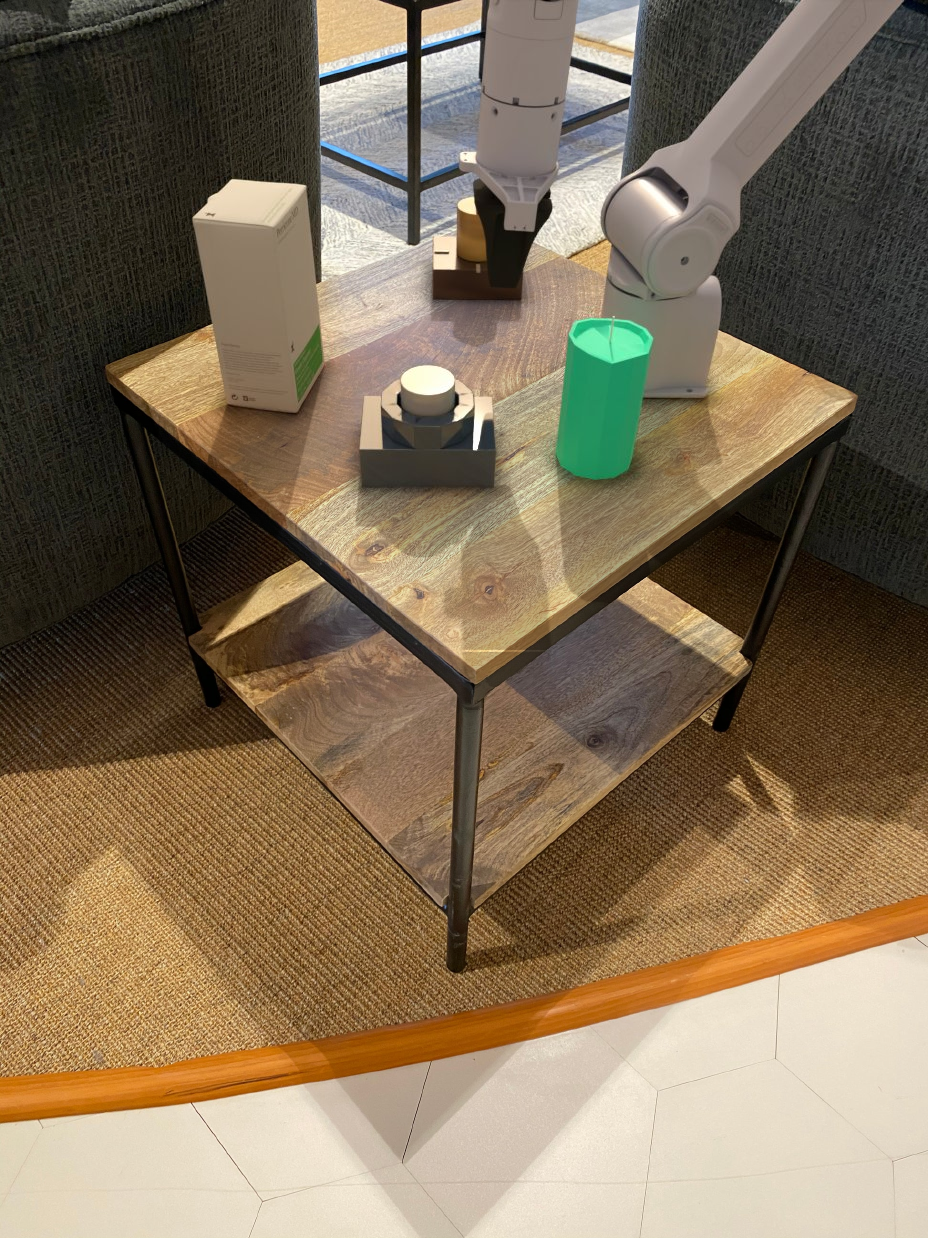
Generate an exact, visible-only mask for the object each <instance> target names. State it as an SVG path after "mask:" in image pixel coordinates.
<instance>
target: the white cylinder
mask: <svg viewBox="0 0 928 1238" xmlns="http://www.w3.org/2000/svg"><path fill="white" fill-rule="evenodd" d="M399 379H400V392H401V407H402V409H403V410H404V411H405V412H406V413H408V414H411V415H414V416H417V417H439V416H442V415H445V414H448V413H450V412H451V411H452V410H453V408H454V406H455V379H456V378H455V376H454V374H453V373H452V372H451V370H448V369H446V368H444V367H441V366H439V365H438V366H437V365H432V364H431V365H430V364H429V365H419V366H418V365H417V366H414V367H411V368H409V369H407V370H406V371H404V372H403V373H402V375H401V376H400V378H399Z"/></svg>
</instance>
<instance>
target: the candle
mask: <svg viewBox="0 0 928 1238" xmlns="http://www.w3.org/2000/svg"><path fill="white" fill-rule="evenodd" d="M652 344H653V337H652V336H651V334H650V333H649V332H648V330H647V329H646V328H644V327H642V326H640V325H638V324H636V323H634V322H632V321H628V320H619V319H615V316H613V318H612V319H609V318H601V317H599V318H598V317H597V318H595V317H589V318H588V317H587V318H584V319H579V320H575V321H573V323H572V325H571V328H570V330H569V332H568V335H567V344H566V354H565V363H564V364H565V365H564V374H563V383H562V392H561V401H560V410H559V420H558V429H557V438H556V439H557V440H556V447H555V456H556V458H557V460H558V463H559V465H560V467H561V468H563V469H565V470H566V471H568V472H569V473H570V474H572V475H574V476H576V477H579V478H580V477H581V478H586V479H590V480H594V481H597V480H607V479H615V478H616V477H619V476H620V475H621V474H623V473H625V472H627V471H629V469H630V466H631V463H632V460H633V457H634V451H635V445H636V440H637V434H638V427H639V422H640V417H641V412H642V411H641V410H642V407H643V406H642V405H643V400H644V397H643V395H644V389H645V383H646V378H647V372H648V366H649V361H650V355H651V349H652Z"/></svg>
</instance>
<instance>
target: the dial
mask: <svg viewBox="0 0 928 1238" xmlns="http://www.w3.org/2000/svg"><path fill="white" fill-rule="evenodd" d="M456 236H457V239H456V253H457V255H458V256H459V257H461V258H463V259H465V260H468V261H475V262H481V261H487V260H486V242H485V235H484V230H483V226H482V223H481V220H480V218H479V215H478V213H477V210H476V207H475V203H474V196H469V197H466V198H463V199H460V200H459V201H458V202H457V204H456Z"/></svg>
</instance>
